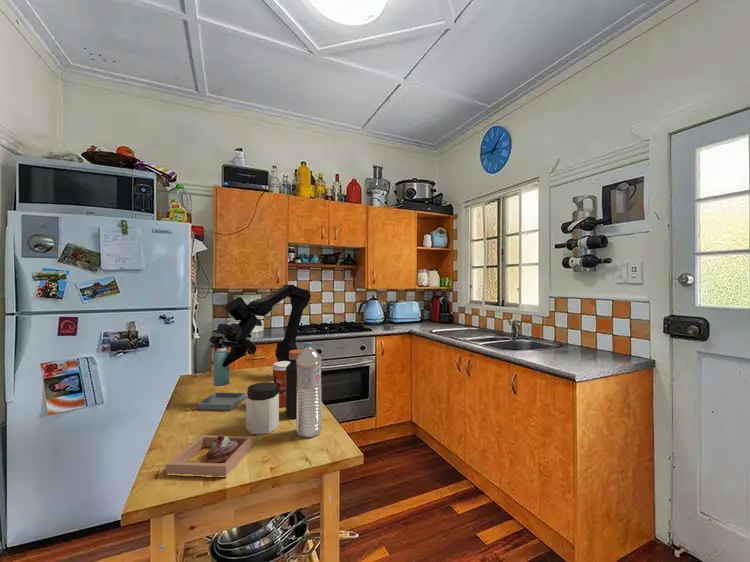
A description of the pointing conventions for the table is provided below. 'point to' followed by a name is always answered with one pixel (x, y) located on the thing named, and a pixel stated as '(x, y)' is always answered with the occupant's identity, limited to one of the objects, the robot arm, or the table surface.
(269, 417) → the jar
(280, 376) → the paper cup
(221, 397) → the tray
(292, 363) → the vinegar
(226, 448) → the pastry
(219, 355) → the pepper mill
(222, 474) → the pastry plate
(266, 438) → the table surface
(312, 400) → the water bottle
